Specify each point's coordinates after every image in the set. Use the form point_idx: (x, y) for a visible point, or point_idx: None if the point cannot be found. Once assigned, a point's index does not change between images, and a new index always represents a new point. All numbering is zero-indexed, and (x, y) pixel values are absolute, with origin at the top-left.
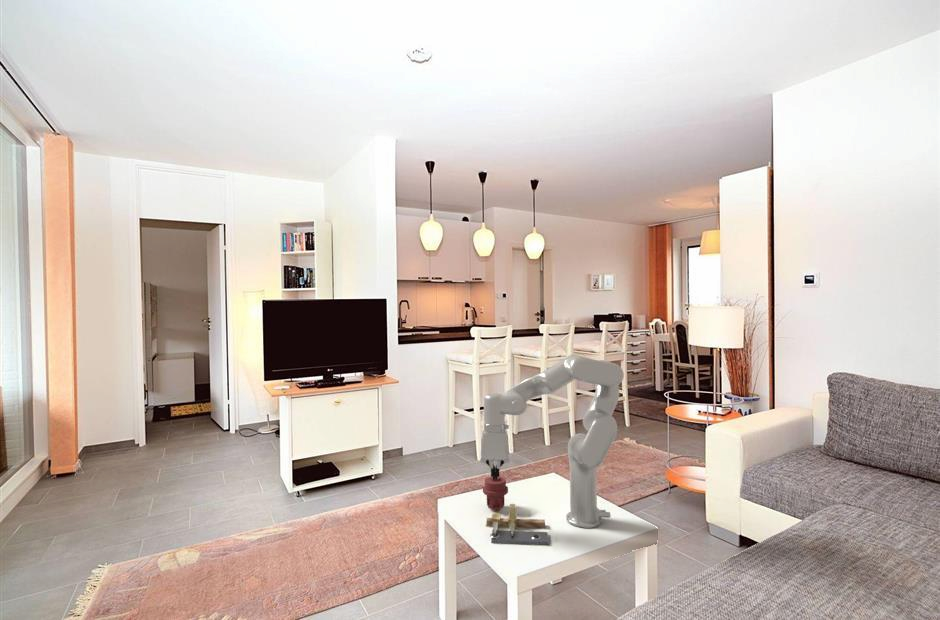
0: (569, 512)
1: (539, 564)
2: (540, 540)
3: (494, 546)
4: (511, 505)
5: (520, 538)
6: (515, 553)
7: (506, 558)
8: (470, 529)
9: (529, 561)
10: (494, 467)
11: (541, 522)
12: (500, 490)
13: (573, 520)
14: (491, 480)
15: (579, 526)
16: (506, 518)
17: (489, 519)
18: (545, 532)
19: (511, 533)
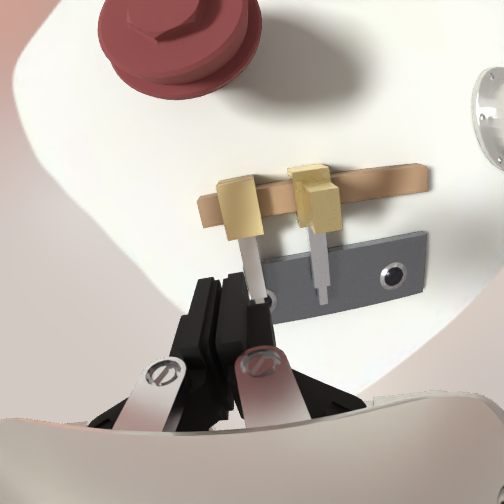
0: (482, 84)
1: (385, 367)
2: (403, 291)
3: None
4: (321, 209)
5: (347, 296)
6: (332, 348)
7: (311, 371)
8: (159, 258)
9: (365, 365)
10: (213, 376)
11: (417, 191)
12: (224, 64)
13: (492, 144)
14: (144, 33)
15: (498, 167)
16: (282, 186)
17: (212, 214)
18: (421, 239)
19: (321, 303)
